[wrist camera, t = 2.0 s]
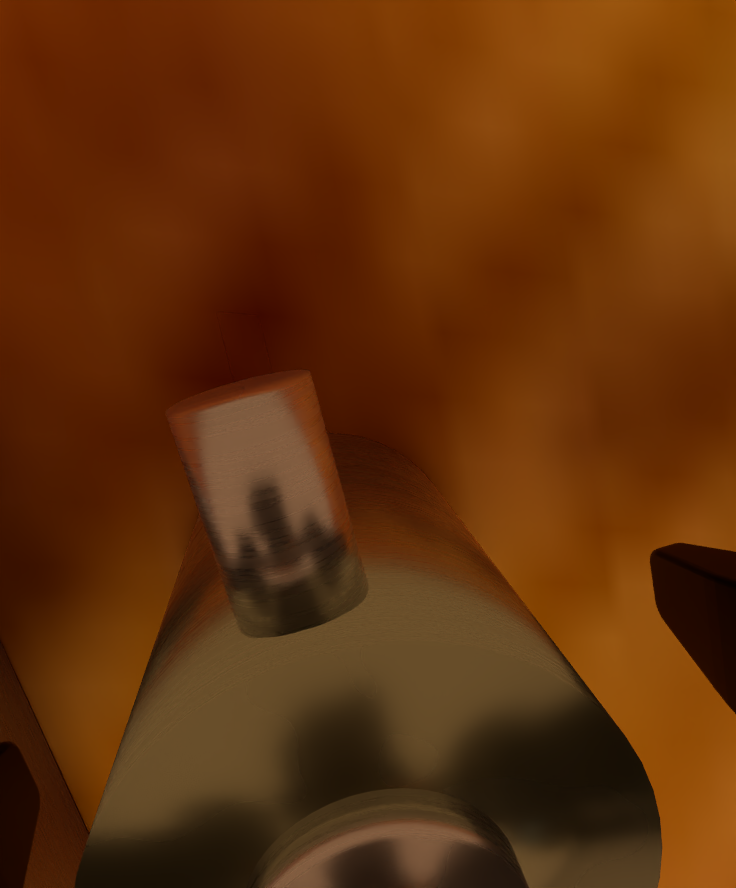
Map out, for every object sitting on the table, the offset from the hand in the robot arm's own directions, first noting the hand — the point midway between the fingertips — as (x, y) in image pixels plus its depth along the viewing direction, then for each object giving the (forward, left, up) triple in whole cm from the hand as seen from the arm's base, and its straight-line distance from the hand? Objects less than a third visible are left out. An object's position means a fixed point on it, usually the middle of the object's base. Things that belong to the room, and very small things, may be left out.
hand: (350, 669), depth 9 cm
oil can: (0, 0, -4) cm, 4 cm away
